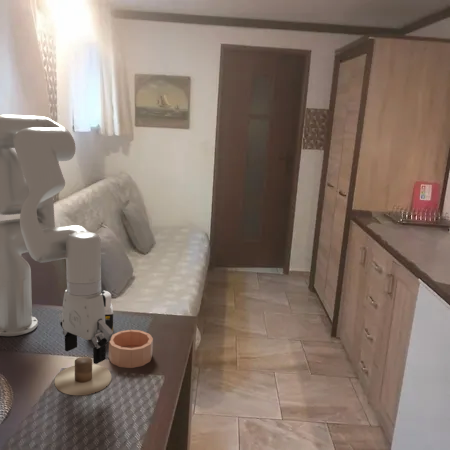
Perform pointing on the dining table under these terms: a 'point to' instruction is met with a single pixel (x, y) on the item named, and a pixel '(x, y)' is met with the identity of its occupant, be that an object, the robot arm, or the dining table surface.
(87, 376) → the lid
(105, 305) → the medicine bottle
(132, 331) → the bowl
